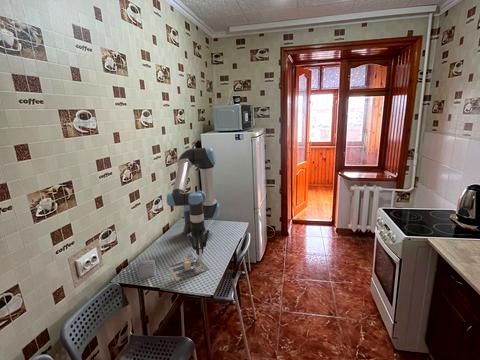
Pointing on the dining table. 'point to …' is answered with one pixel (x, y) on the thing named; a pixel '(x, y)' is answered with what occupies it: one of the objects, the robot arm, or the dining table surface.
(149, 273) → the medicine box
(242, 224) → the dining table surface
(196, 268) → the block
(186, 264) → the block
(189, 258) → the block
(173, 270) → the panel
